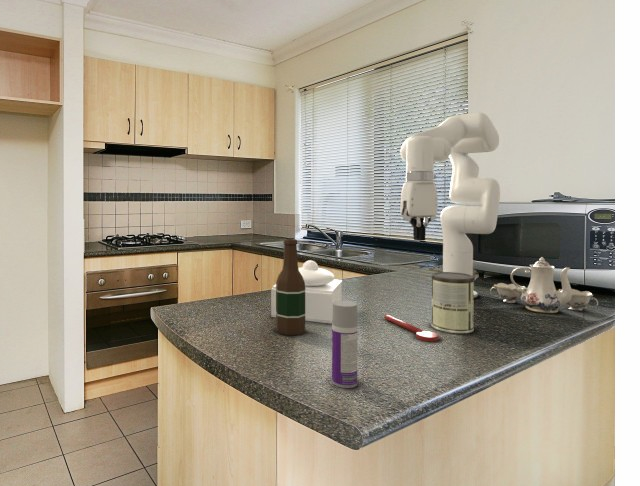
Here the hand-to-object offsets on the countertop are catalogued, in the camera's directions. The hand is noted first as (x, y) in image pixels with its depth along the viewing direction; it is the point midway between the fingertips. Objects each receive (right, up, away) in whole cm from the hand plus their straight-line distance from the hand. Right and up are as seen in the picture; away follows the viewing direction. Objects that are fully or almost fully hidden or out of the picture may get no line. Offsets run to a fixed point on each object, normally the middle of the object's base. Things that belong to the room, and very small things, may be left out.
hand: (419, 240), depth 129 cm
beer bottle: (-40, -23, -16) cm, 49 cm away
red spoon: (-9, -22, -14) cm, 28 cm away
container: (-34, -23, -47) cm, 62 cm away
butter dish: (-33, -22, +2) cm, 40 cm away
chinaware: (+42, -22, +8) cm, 48 cm away
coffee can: (+3, -23, -13) cm, 26 cm away
